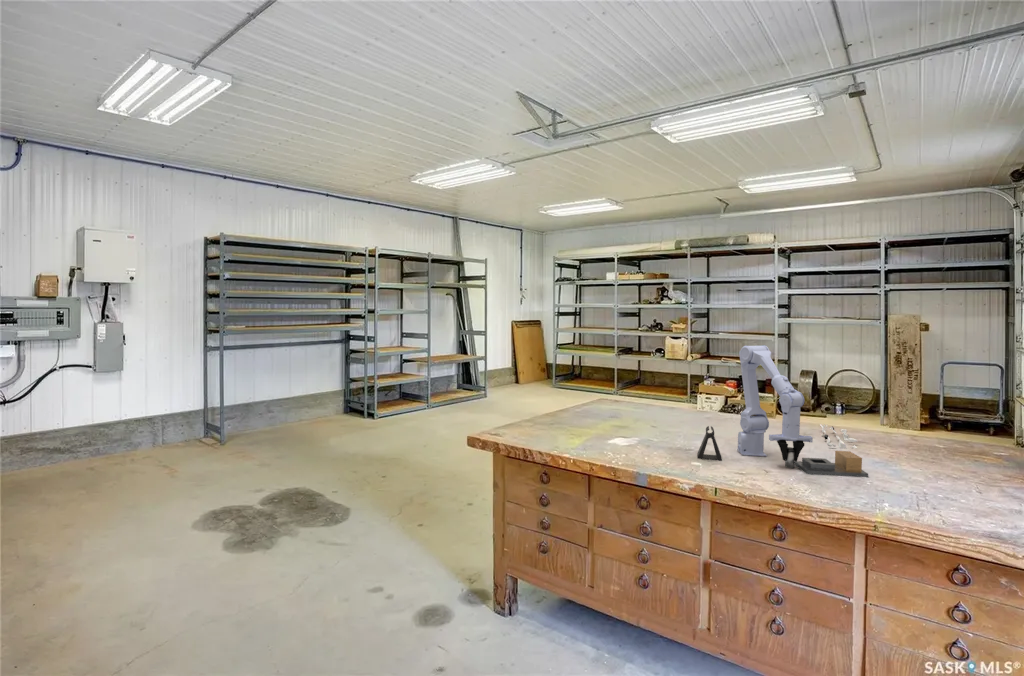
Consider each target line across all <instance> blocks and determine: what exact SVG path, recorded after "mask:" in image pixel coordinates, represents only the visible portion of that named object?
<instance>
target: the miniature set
mask: <svg viewBox="0 0 1024 676" xmlns="http://www.w3.org/2000/svg"><path fill="white" fill-rule="evenodd" d="M819 425H820V427H821V437H822V436H823V438H824V440H826V444H827V446H829V447H836V446H837V447H838V448H839V449H847V444H845V442H849V443H857V442H859V440H858V439H857V438H853V437H849V434H847V432H848V430H847V428H845V429H843V428H840V432H841V433H842V435H841V437H842V436H843V440H841V437H840V436H839V435H838V432H836V430H835V428H834V426H831V427H829V429H830V430H832V432H833V433H835V434H836V435H835V438H837V440H838V443H837V445H836V444H834V443H831V438H830V436H829V434H827V432H826V431H827V428H828V425H827V424H826V425H825V424H821V423H819ZM823 433H824V434H823ZM844 441H845V442H844ZM850 448H851V449H858V447H857V446H856V445H855V444H853V446H850Z"/></svg>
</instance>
